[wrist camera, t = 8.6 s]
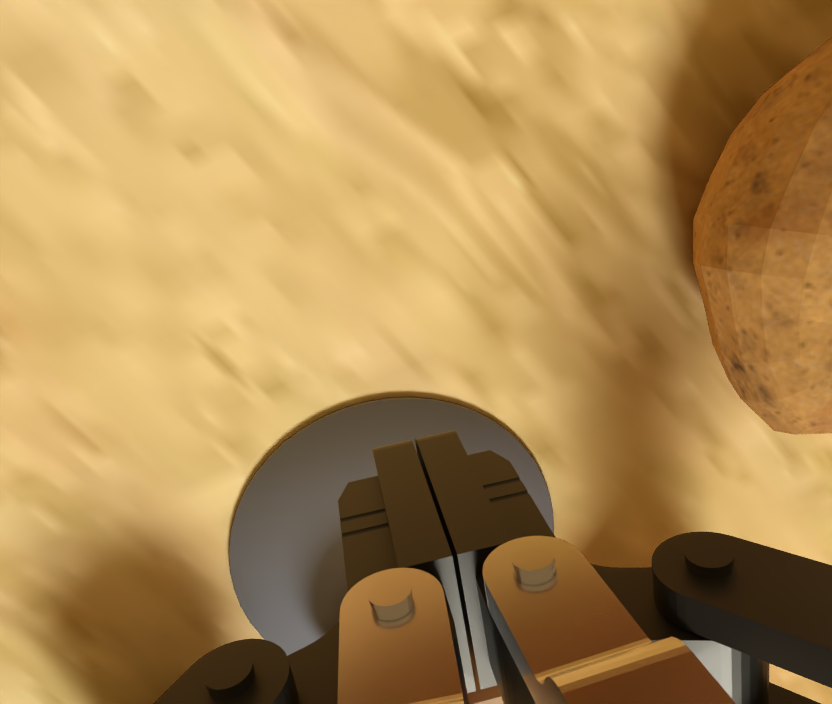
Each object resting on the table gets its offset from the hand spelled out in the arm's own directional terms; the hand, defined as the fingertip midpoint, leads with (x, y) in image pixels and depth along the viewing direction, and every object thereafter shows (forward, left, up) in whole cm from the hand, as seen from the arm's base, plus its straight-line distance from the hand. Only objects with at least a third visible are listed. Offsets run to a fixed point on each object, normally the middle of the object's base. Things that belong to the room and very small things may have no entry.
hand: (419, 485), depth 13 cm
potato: (-17, +1, -16) cm, 23 cm away
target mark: (0, +12, -15) cm, 19 cm away
